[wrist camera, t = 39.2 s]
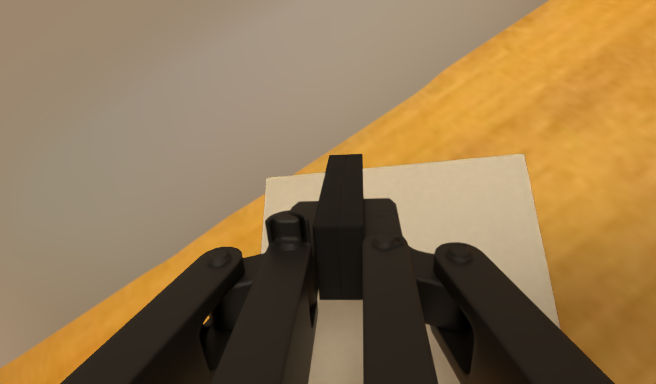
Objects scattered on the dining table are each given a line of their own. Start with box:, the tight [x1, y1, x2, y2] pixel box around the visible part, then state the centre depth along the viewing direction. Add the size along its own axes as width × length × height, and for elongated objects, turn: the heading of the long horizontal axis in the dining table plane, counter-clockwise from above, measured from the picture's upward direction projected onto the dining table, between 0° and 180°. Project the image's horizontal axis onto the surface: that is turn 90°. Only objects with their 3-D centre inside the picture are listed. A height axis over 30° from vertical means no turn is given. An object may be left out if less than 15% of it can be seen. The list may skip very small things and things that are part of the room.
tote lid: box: [261, 154, 561, 384], centre depth 21 cm, size 16×15×1 cm
